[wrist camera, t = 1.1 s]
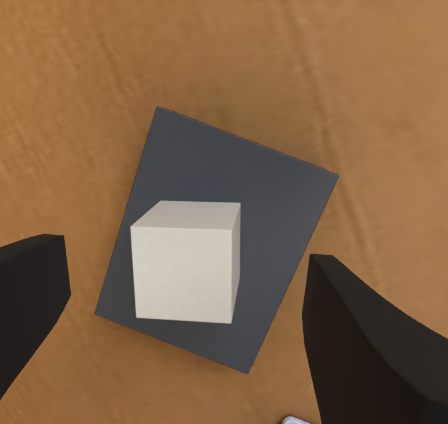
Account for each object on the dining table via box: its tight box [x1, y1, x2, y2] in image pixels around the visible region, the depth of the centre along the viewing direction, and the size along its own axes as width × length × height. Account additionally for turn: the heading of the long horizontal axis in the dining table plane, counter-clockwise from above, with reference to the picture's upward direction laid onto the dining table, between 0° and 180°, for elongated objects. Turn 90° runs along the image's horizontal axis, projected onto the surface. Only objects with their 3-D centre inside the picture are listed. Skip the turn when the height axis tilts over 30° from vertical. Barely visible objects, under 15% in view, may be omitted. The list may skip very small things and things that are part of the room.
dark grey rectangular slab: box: [95, 106, 339, 374], centre depth 23 cm, size 13×10×2 cm
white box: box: [130, 201, 241, 324], centre depth 20 cm, size 4×4×5 cm
